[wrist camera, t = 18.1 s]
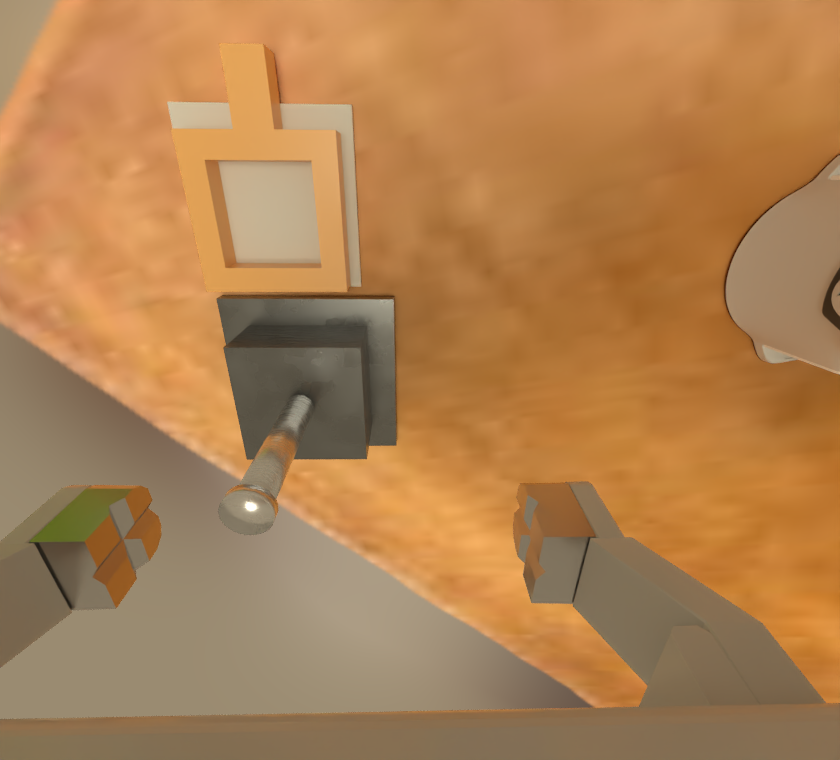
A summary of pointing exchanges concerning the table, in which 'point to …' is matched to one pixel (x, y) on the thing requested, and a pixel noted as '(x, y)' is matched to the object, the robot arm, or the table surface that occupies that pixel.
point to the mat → (279, 187)
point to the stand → (305, 388)
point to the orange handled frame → (261, 142)
